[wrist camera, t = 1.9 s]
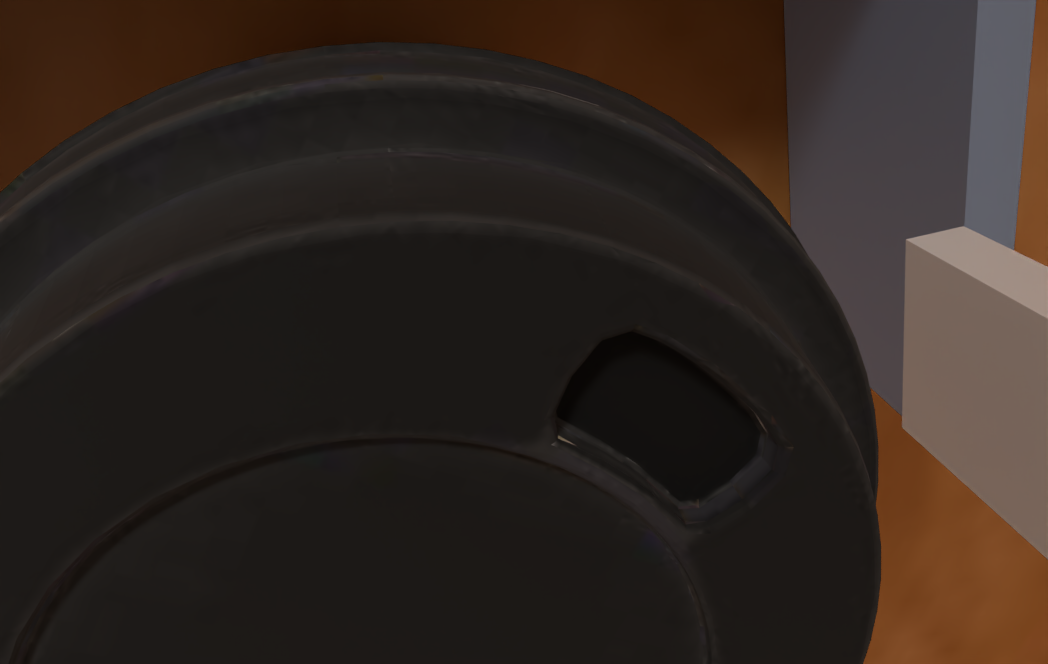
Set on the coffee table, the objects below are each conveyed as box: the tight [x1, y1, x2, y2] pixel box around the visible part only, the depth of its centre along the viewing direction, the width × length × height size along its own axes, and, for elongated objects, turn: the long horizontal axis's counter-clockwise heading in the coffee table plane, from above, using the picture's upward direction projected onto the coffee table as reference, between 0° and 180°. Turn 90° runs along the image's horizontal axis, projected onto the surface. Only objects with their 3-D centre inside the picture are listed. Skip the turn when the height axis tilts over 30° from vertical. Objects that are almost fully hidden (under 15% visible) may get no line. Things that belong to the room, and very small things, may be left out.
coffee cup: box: [0, 42, 881, 664], centre depth 14 cm, size 9×9×15 cm
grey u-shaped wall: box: [784, 0, 1036, 416], centre depth 17 cm, size 13×22×7 cm, turn 100°
